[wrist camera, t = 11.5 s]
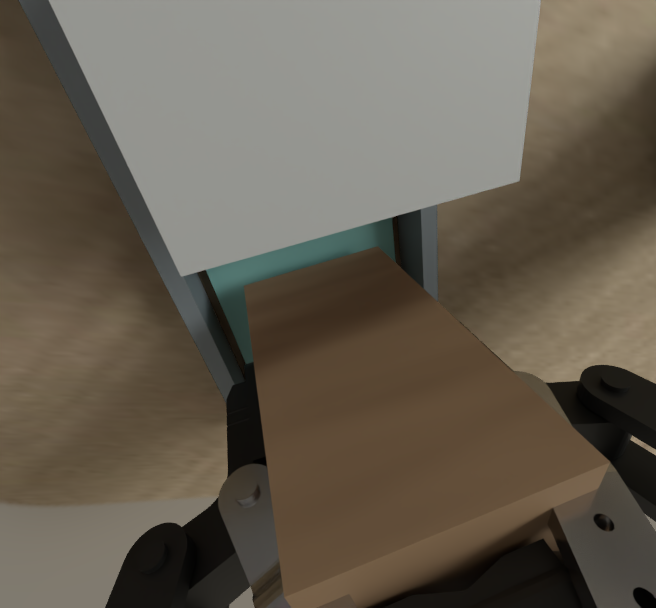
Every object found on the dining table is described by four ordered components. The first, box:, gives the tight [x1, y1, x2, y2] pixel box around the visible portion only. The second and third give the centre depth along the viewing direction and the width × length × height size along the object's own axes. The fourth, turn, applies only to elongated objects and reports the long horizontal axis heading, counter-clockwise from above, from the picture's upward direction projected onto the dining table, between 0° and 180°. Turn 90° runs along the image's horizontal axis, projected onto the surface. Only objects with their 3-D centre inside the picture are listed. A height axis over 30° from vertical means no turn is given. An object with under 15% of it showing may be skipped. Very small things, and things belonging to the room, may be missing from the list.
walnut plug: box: [244, 246, 610, 608], centre depth 10 cm, size 5×5×9 cm
